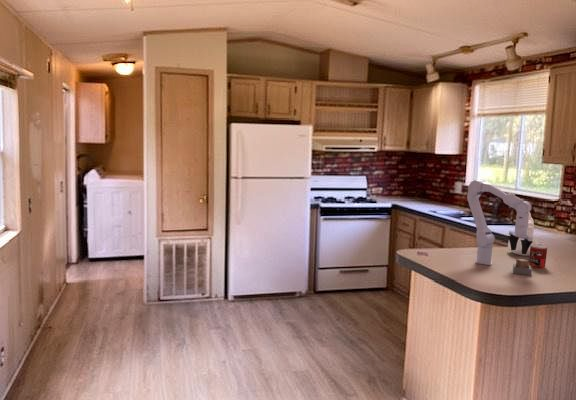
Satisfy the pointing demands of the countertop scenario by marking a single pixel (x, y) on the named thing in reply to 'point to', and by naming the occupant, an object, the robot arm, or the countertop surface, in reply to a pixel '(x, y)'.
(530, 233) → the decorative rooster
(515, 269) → the well
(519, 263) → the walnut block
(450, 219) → the countertop surface
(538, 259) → the canned food
